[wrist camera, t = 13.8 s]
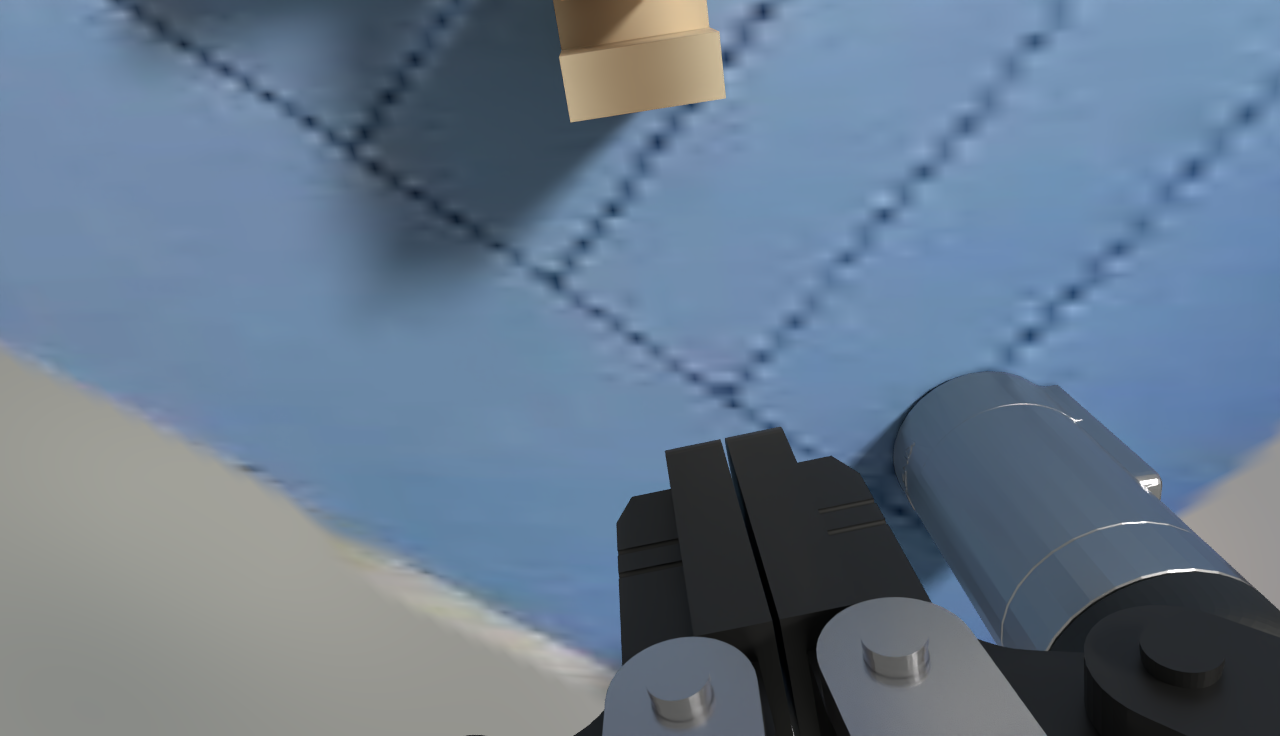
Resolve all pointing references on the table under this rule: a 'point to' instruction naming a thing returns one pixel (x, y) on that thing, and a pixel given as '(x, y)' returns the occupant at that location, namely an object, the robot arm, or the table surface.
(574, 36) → the keeper
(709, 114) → the table surface
